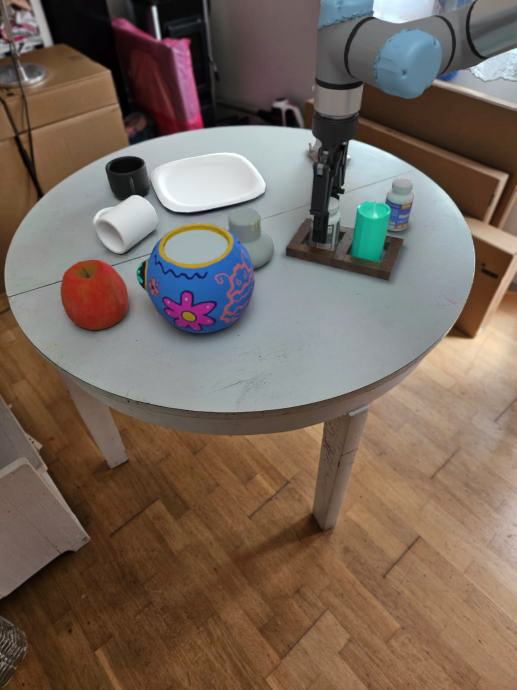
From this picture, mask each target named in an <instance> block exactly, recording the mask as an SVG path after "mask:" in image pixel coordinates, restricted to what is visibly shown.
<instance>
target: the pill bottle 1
mask: <svg viewBox="0 0 517 690" xmlns="http://www.w3.org/2000/svg"><path fill="white" fill-rule="evenodd" d="M339 210H340V200H339V201H338V200H337V199H336V198H334V197H330V201H329V207H328V212H329V222H328V232H327V241H326V243H325V244H323V243H319V242H315V241H312V233H313V220H314V215H310V236H309V239H308V246H312V247H317V248H321V249H325V250H329V251H333V252H335V250H336V249H337V247H338V244H339V243H338V242H339V239H338V236H339V228H340V225H341V219H342V217H341V213H340V211H339Z"/></svg>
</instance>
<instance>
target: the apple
mask: <svg viewBox="0 0 517 690" xmlns="http://www.w3.org/2000/svg"><path fill="white" fill-rule="evenodd" d="M61 280H62V281H61V284H60V299H61V304H62V307H63V309H64V311H65V314H66V316H67V317H68V318H69V320H71V322H73V323H74V325H75V324H76V325H77V326H78V327H81V328H83V329H86V330H89V331H99V330H100V331H102V330H105V329H108V328H111V327H112V326H114V325H116V324H118V323H119V322H120V321H121V320H122V319H123V318H124V317H125V316H126V315H127V312H128V308H129V293H128V287H127V285H126V283H125V281H124V279H123V278H122V276H121V275H120V273H118V272H117V271H116V269H115V268H114V267H113V266H111V264H109V263H107V262H105V261H103V260H101V259H94V258H93V259H87V260H82V261H78V262H76V263H75V264H73V265H71V266H70V267H69V268H68V269H66V270H65V271H64V274H63V275H62V279H61Z"/></svg>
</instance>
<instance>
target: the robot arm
mask: <svg viewBox="0 0 517 690" xmlns="http://www.w3.org/2000/svg"><path fill="white" fill-rule="evenodd" d="M374 6H375V0H321V1H320V5H319V15H318V22H317V26H316V31H317V34H316V35H317V37H316V51H315V52H316V56H315V70H314V71H315V74H314V84H312V86H311V91H312V92H313V93H314V96H313V109H314V110H313V112H312V119H311V120H312V121H311V133H312V136H313V138H315V140H316V139H318V140H319V141H320V142H321V143H322V145H321V147H319V150H318V162H315V161H314V162H313V164H312V186H311V197H310V207H309V208H310V209H309V210H308V212H309V215H310V216H311V215H314V220H313V233H312V241H315V242H319V243H323V244H325V243H326V241H327V232H328V222H329V212H328V207H329V201H330V197H334V198H336V199H337V200H338V201H339V202H340V199H341V198H340V196H341V195H342V196H343V195H345V193H346V189H345V188H342V187H344V185H345V178H346V170H347V169H346V168H347V164H346V161H347V155H348V152H349V151H348V150H349V146H350V145H349V144H350V142H351V141H352V140H354V139H355V137H356V136H357V134H358V127H359V120H360V113H359V111H360V110H361V107H362V99H363V91H364V83H365V84H368V85H370V86H371V87H373V88H376V89H379V90H380V91H382V92H383V93H385V94H387V95H390V96H394V97H400V98H403V99H406V100H407V99H408V100H410V99H415V98H418V97H420V96H422V95H423V93H424V91H425V90H427V89H429V88H430V87H431V86H432V85H433V83H434V81H435V80H436V78H438V77H440V76H443V75H446V74H450V73H451V74H452V73H453V72H458V71H463V70H468V69H470V68H473V67H474V68H475V67H476V66H478V65H480V64H481V63H483V62H485V61H487V60H489V59H491V58H494V57H496V56H499V55H501V54H502V55H503V54H504V53H507V52H510V51H513V50H515V49H517V0H471V1H470V2H468V3H465V4H463V5H462V6H459V7H458V8H455V9H452V10H450V11H447V12H443V13H439V14H435V15H431V16H430V15H429V16H426V17H421V18H418V19H414V20H413V19H412V20H410V21H409V20H407V21H405V22H400V23H399V22H393V21H392V22H391V21H387V20H383V19H380V18H377V17H376V16H374V15H375V7H374Z"/></svg>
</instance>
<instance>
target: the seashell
mask: <svg viewBox="0 0 517 690" xmlns="http://www.w3.org/2000/svg"><path fill="white" fill-rule="evenodd" d="M321 145H322V143H321V142H320V141H319V140H318V139H316V138H315V143H314V145H312V142H308V146H309V147H308V148H309V149H308V155H309V156H310V158H312V160H313V161H314V162H318V150H319V147H321ZM350 162H351V156H350V155H348V154H347V161H346V165H347V164H348V163H350Z"/></svg>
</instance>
